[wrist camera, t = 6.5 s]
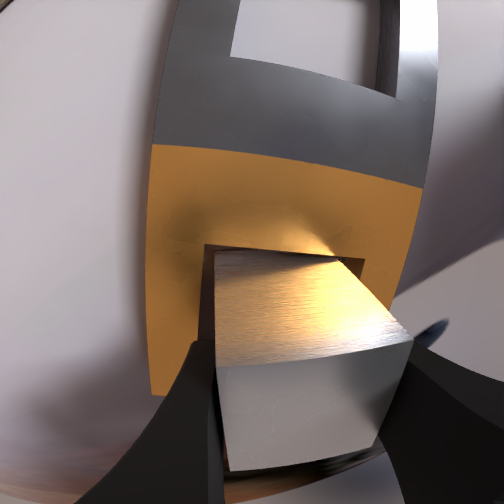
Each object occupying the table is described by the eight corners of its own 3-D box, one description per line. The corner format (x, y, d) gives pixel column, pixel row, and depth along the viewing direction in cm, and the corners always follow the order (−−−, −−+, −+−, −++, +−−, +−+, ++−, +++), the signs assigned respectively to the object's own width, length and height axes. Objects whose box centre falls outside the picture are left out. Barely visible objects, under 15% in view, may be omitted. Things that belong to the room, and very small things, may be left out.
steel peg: (324, 245, 11) (414, 339, 5) (316, 335, 12) (370, 446, 7) (214, 251, 11) (215, 367, 5) (221, 343, 12) (229, 470, 6)
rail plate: (415, -12, 8) (433, -22, 6) (342, 374, 14) (353, 394, 12) (209, -70, 6) (210, -90, 5) (155, 371, 12) (151, 394, 11)
